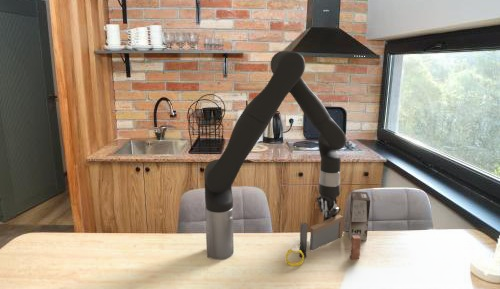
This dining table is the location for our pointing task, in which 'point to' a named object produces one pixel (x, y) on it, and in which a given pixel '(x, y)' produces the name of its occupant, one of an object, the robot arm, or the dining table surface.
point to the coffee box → (359, 214)
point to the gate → (326, 232)
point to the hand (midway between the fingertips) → (326, 225)
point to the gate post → (303, 239)
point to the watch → (294, 250)
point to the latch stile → (355, 247)
